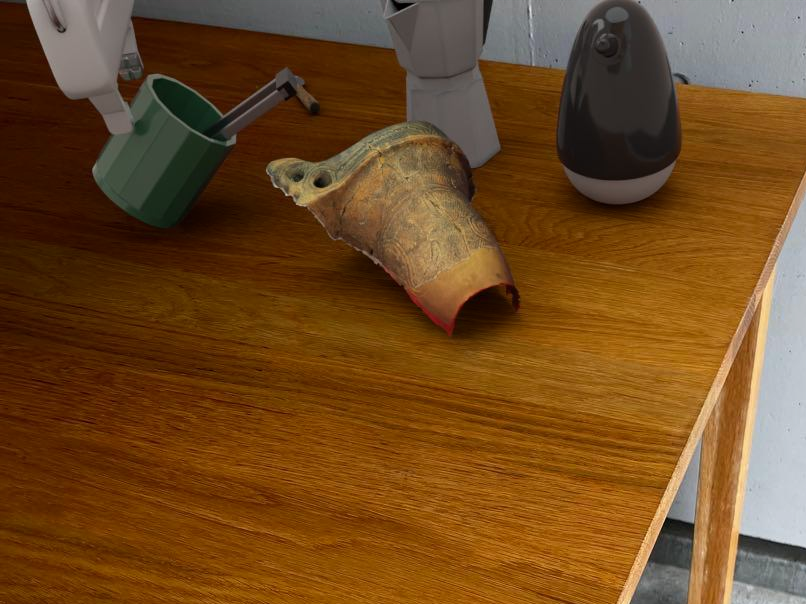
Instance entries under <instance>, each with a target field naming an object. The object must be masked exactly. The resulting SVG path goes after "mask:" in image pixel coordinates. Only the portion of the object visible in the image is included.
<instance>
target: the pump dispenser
mask: <svg viewBox="0 0 806 604" xmlns="http://www.w3.org/2000/svg"><path fill="white" fill-rule="evenodd" d="M662 37H663V36H662V35H661V32H660V30H659V28H658V26H657V24H656V23H655V21H654V19H653V18H652V16H651V14H650V13H649V12H648V10H647V9H646V8H645V7H644V6H643V5H642V4H641V3H640V2H638V1H636V0H602V1H599V2H598V3H597V4H595V5H594V6H593V7H592V8H590V10H589V12H588V13H587V14H586V16H585V17H584V18H583V21H582V23H581V25H579V28H578V30H577V33H576V35H575V38H574V40H573V42H572V46H571V49H570V52H569V56H568V60H567V64H566V68H565V71H564V76H563V81H562V86H561V90H560V91H561V92H560V96H559V97H560V98H559V103H558V112H557V120H556V121H557V123H556V133H555V134H556V135H555V147H556V148H555V149H556V155H557V158H558V160H559V162H560V163H561V165H562V168H563V170H564V173H565V175H566V177H567V178H568V180H569V181H570V184H572V185H573V187H574V189H576V190H577V191H578V192H579V193H581V194H582V195H583V196H585V197H586V198H589V199H590V200H593V201H595V202H598V203H602V204H607V205H626V204H627V205H628V204H632V203H636V202H639V201H642V200H644V199H647V198H649V197H651V196H652V195H654V194H655V193H657V192H658V191H659V190H660V189H661V188H662V187H663V186H664V185H665V183H666V182H668V179H669V178H670V176H671V174H672V173H673V170H674V167H675V165H676V161H677V159H678V158H679V156H680V154H681V152H682V146H683V129H682V119H681V111H680V104H679V96H678V92H677V86H676V83H675V78H674V74H673V70H672V66H671V61H670V58H669V55H668V51H667V48H666V46H665V43H664V40H663V38H662Z"/></svg>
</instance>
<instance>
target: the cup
mask: <svg viewBox="0 0 806 604" xmlns="http://www.w3.org/2000/svg"><path fill="white" fill-rule="evenodd" d="M128 106H129V108H130V111H131V114H132V116H133V118H134V121H133V128H132V131H131V132H130V133H125V134H120V135H114V134H111V133H110V134H111V135H109V137H108V139H107V141H106V142H105V144H104V146H103V147H102V148H101V150H100V152H99V154H98V155H97V159H96V161H95V162H94V163H93V166H92V176H93V178H94V181H95V184H97V186H98V187H99V188H100V190H101V191H102V193H103V194H105V196H106V197H107V198H108V199H109V200H111V202H112V203H114V204H115V205H116V206H117V207H119V208H120V209H121V210H122V211H124V212H125V213H127V214H128V215H129V216H132V217H133V218H134V219H137V220H138V221H140V222H142V223H145V224H147V225H149V226H152V227H156V228H159V229H166V230H171V229H175V228H177V227H179V226H180V225H181V223H182V222H183V220H184V219H186V218H187V217H188V215H189V213H190V212H191V211H192V209H193V207H194V206H195V205H196V203H197V202H198V200H199V199H200V198H201V196H202V195H203V193H204V191H205V190H206V189H207V187H208V186H209V184H210V183H211V181H212V180H213V178H214V177H215V176H216V174H217V172H218V171H219V170H220V168H221V166H222V165H223V164H224V162H225V161H226V159H227V158H228V156H229V155H230V154H231V152H232V151H233V149H234V148H235V146H236V145H237V134H235V135H234V136H232V137H231V138H230V139H228V140H227V141H225V142H221V141H218V140H214V139H210V138H208V137H206V136H204V135H202V134H201V132H202V131H203V130H205V129H206V128H207V127H209V126H210V125H212V124H213V123H214V122H216V121H217V120H219V119H220V118H221V117H223V116H224V115H223V114H222V112H221V111H220V110H219V109H218V108H217V107H216V106H215V105H214V104H213V103H211V101H209V100H208V99H207V98H206V97H204V96H203V95H202V94H200V93H199V92H198V91H196V90H195V89H193V88H191V87H189V86H188V85H186V84H184V83H183V82H181V81H180V80H177V79H176V78H173V77H170V76H167V75H164V74H161V73H153V74H148V75H147V76H146V77H145V79H144V81H143V82H142V84H141V85H140V87H139V89H138V90H137V92H136V94H135V95H134V97H133V99H132V100H131V102H130V103H129V104H128Z"/></svg>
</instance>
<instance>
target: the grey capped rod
mask: <svg viewBox="0 0 806 604" xmlns="http://www.w3.org/2000/svg"><path fill="white" fill-rule="evenodd" d="M295 76H296V75H294V74H293V73H292V71H291V69H289V67H288V66H286V67H285V68H283V69H282V70H280V71H278V72H277V73H276V74H275V78H274V79H272V80H271V81H269V82H268V83H267V84H265V85H264V86H262V87H261V88H260V89H259V90H257V91H256V92H254V93H253V94H252V95H251V96H249V97H248V98H245V100H243V101H242V102H240V103H239V104H238V105H236V106H235V107H233V108H232V109H231V110H229V111H228V112H226V113H225V114H224V115H223V117H221V118H220V119H219V120H217V121H216V122H214V123H213V124H212V125H210V126H209V127H207V128H206V129H205V130H203V131H202V132H201V134H202V135H204V136H206V137H208V138H210V139H214V140H218V141H221V142H225V141H227V140H228V139H230V138H231V137H232V136H234V135H235V134H236V135H237V134H238V133H239V132H241V131H242V130H244V129H245V128H246V127H248V126H249V125H250V124H252V123H254V122H255V121H256V120H258V119H259V118H260V117H262V116H263V115H265V114H266V113H267V112H269V111H270V110H271V109H273V108H275V107H276V106H277V105H279V104H280V103H281V102H283V101H285V102H288V101H289V100H290V99H292V98H293V97H294V96H297V95H296V94H297V93H298V92H297V80H296V78H295Z"/></svg>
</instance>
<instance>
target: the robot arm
mask: <svg viewBox="0 0 806 604" xmlns="http://www.w3.org/2000/svg"><path fill="white" fill-rule="evenodd" d="M25 1H26V5H27V9H28V12H29V15H30V18H31V21H32V23H33V26H34V29H35V32H36V34H37V37H38V39H39V41H40V42H39V43H40V44H41V47H42V50H43V52H44V54H45V57H46V59H47V62H48V65H49V67H50V69H51V72H52V74H53V77H54V79H55V82H56V84H57V85H58V87H59V89H60V90H61V91H62V93H63V94H64V95H65V96H66V97H67V98H68V99H70V100H82V99H88V100H89V101H90V103H91V104H92V105H93V106H94V107H95V109H96V110H97V111H98V112H99V114H100V115H101V116H102V119H103V121H104V123H105V125H106V128H107V130H108V131H109V133H110V134H114V135H120V134H125V133H130V132H131V131H132V128H133V121H134V118H133V116H132V114H131V111H130V108H129V103H128V101H124V99H123V96H122V94H121V93H120V91H119V89H118V88H119V83H118V76H119V75H120V78H121V79H122V80H123V81H125V82H129V81H133V80H140V79H141V78H142V76H143V73H144V69H145V68H144V63H143V60H142V58H141V55H140V53H139V50H138V44H137V40H136V35H135V30H134V24H133V21H132V15H133V10H134V5H135V0H25Z"/></svg>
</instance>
